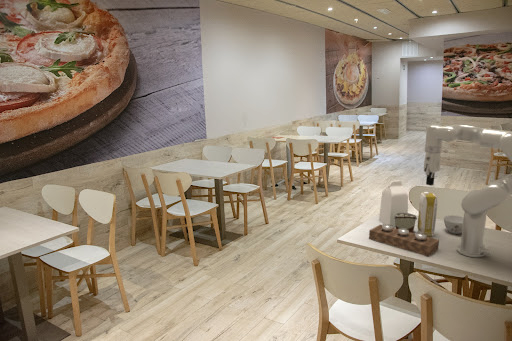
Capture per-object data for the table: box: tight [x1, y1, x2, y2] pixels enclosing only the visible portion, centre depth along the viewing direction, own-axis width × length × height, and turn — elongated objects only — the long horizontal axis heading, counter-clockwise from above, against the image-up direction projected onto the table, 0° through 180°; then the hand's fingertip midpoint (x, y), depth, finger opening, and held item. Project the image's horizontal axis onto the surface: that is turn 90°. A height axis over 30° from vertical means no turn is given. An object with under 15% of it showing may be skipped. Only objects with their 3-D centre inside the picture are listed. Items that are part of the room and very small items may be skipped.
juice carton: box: [417, 191, 438, 238], centre depth 222 cm, size 9×8×24 cm
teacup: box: [443, 214, 464, 235], centre depth 225 cm, size 15×12×8 cm
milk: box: [378, 180, 409, 228], centre depth 239 cm, size 12×12×26 cm
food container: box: [394, 212, 418, 233], centre depth 228 cm, size 12×6×10 cm, turn 84°
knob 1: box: [381, 223, 393, 233], centre depth 216 cm, size 5×5×6 cm
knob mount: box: [368, 224, 440, 257], centre depth 211 cm, size 32×12×5 cm, turn 46°
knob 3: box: [414, 231, 427, 242], centre depth 204 cm, size 5×5×6 cm
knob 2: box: [398, 228, 409, 237], centre depth 210 cm, size 5×5×6 cm
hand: (429, 184), depth 207 cm, fingers closed
